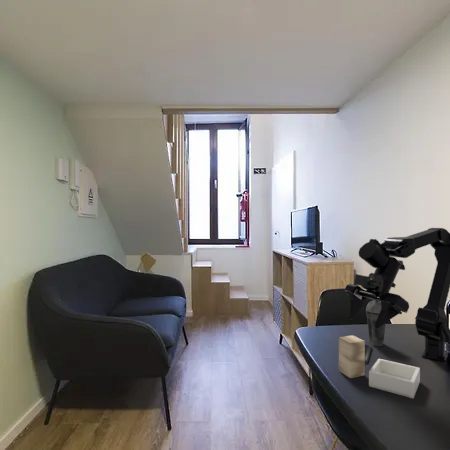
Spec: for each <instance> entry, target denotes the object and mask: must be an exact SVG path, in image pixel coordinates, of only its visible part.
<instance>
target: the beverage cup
mask: <svg viewBox="0 0 450 450" xmlns="http://www.w3.org/2000/svg"><path fill="white" fill-rule="evenodd" d="M380 311H381V301H377V300H373V299H372V300H371V301H369V302H368V303H367V305H366V309H365V315H366V319H367V329H368V331H367V332H368V333H367V334H368V340H369V344H370V346H371V345H372V346H376V347H382V346H384V341H385V333H386V324H387V322H386V323H385V324H384V325H382V326H381V327H380V328H378V329H376V328H375V323H376V321H377V318H378V316H379V313H380Z"/></svg>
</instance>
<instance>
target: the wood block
mask: <svg viewBox="0 0 450 450" xmlns="http://www.w3.org/2000/svg"><path fill="white" fill-rule="evenodd" d="M365 345H366V343H365V340H364V339H361V338H359V337H357V336H356V335H353V334H352V335H345V336H339V337H338V372H340V373H341V374H343V375H345V376H346V377H347V378H349V379H353V378H358V377H364V376H365V370H366V369H365V367H366V366H365Z"/></svg>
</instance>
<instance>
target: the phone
mask: <svg viewBox="0 0 450 450" xmlns="http://www.w3.org/2000/svg"><path fill="white" fill-rule="evenodd" d="M372 346H373V345H372ZM372 346H371V344H370V345H369V344H365V364H368V362H369V359H370V356H371V353H372V349H373V347H372Z"/></svg>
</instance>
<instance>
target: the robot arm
mask: <svg viewBox="0 0 450 450" xmlns="http://www.w3.org/2000/svg"><path fill="white" fill-rule="evenodd" d="M426 246H431V247H432V248H433V249H434V257H435V260H436V262H437V264H436V268H435V272H434V276H433V280H432V283H431V288H430V291H429V295H428V298H427V302H426V304H425V305H424V306H423V307H418V308H417V312H416V316H415V317H414V320H415V323H414V324H415V328H416V331H417V335H418V336H419V335H420V336H422V337H424V348H423V352H422V353H421V354H422V355H421V357H422V358H426V359H430V360H431V359H432V360H435V361H441V362H446V361H447V358H448V354H447V353H446V343H450V327H449V326H448V321H449V320H448V316H447V314H446V310H445V307H446V304H447V300H448V296H449V292H450V232H449V231H448V229H446V228H444V227H429V228H428V229H426V230H423V231H420V232H417V233H413V234H411V235H407V236H399V237H398V236H396V237H395V236H394V237H387V238H384V242H382V243H380V241H379V240H378V239H376V238H370V239H369V241H368V242H366V243H364V244H363V245H362V246H361V247H360V248H359V250H358V257H359V258H361V259H362V260H363V261H364V262H365V263H367V265H369V266H370V267H372V268H373V269H375V270H374V272H370V273H369V274H368V276H367V275H362V274H356V273H355V275H354V280H353V283H348V284H346V286H345V288H344V291H345V292H346V295H347V296H348V297H349V300H350V305H349V306H350V308H349V319H350V320H354V319H355V318H356V316H357V315H358V314H359V312H360V311H361V309H362V308H363V307H364V305H365V304H366V302H365V301H366V300H367V299H370V300H372V301H373V300H377V301H381V311H380V313H379V316H378V318H377V321H376V323H375V328H376V329H378V328H380V327H381V326H382V325H384V324H385V323H386V324H387V322H389V321H390V320H392V319H393V318H395V317H396V316H398V315H402V314H403V313H406V314H407V313H408V311H409V308H410V304H409V302H408V301H407V300H406V299H405V298H404V297H402V296H401V295H400V294H396V293H391V292H390V291H391V288H396V284H395V279H396V277H397V275H398V273H399V271H400V270H402V271H405V270H406V266H405V265H404V261H403V260H400V259H399V260H398V258H403V259H407V258H409V257H410V256H412V255H414V254H415V253H416V250H418V249H421V248H423V247H426ZM386 324H385V325H386Z"/></svg>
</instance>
